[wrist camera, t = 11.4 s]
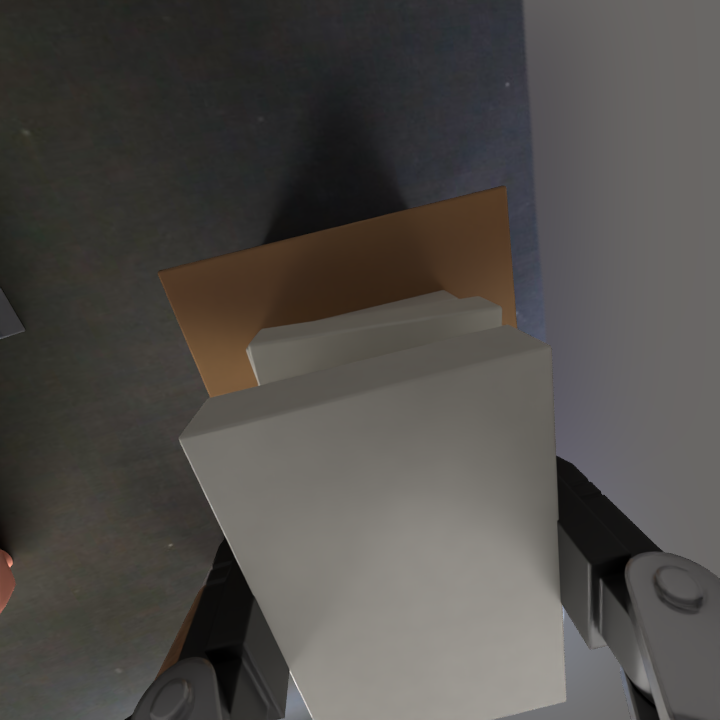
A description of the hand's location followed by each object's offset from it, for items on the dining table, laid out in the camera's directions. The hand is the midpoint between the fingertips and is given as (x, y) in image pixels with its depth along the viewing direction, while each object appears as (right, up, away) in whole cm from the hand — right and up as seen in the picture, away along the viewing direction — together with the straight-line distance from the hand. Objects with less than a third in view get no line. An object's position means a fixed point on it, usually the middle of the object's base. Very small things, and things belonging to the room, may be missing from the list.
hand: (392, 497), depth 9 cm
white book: (0, -1, -1) cm, 1 cm away
